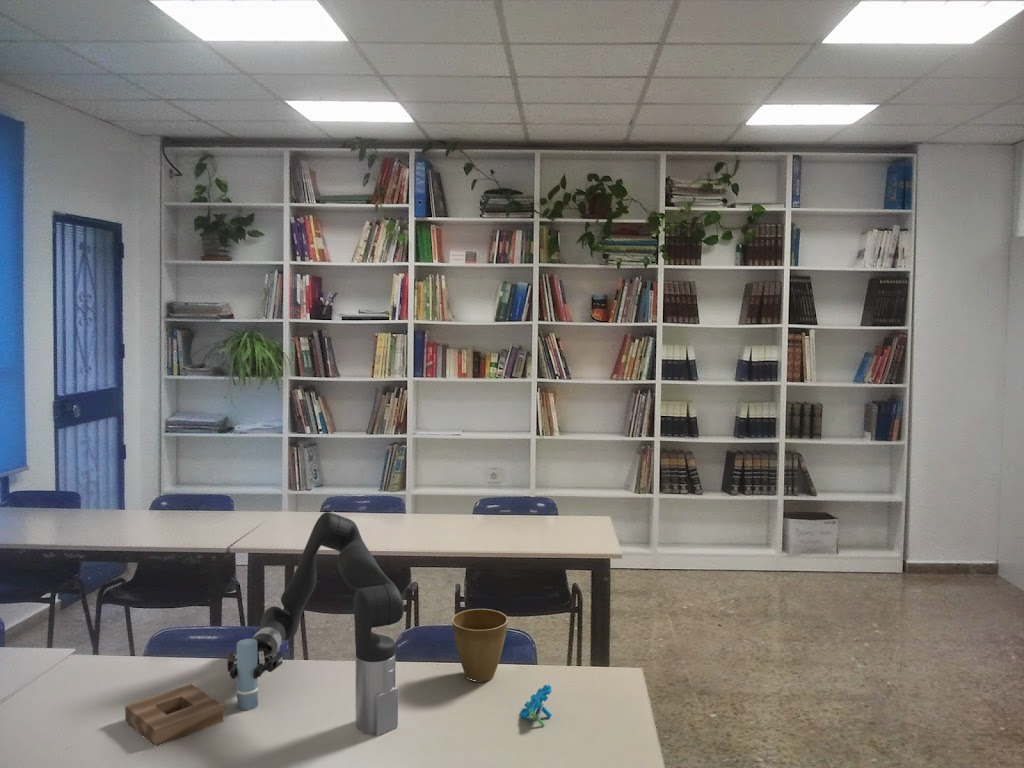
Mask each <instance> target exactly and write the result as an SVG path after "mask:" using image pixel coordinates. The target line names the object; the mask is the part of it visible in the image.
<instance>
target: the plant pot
mask: <svg viewBox="0 0 1024 768" xmlns="http://www.w3.org/2000/svg"><path fill="white" fill-rule="evenodd" d="M451 621H452V630H453V636H454V637H453V638H454V641H455V647H456V649H457V654H458V657H459V661H460V664H461V666H462V669H463V673H464V674H465V677H466V676H467V677H468V678H469V679H472V680H476V681H485V682H487V681H486V680H489V679H491V680H492V679H493V678H494V677H495V674H496V672H497V671H496V670H497V669H498V667H499V662H500V659H501V656H502V652H503V648H504V645H505V639H506V635H507V627H508V616H507V615H506V614H504V613H503V612H501V611H498V610H493V609H488V608H473V609H467V610H463V611H460V612H458V613H456V614H454V616H452V618H451ZM467 677H466V678H467ZM469 679H468V680H469ZM489 681H490V680H489Z"/></svg>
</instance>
